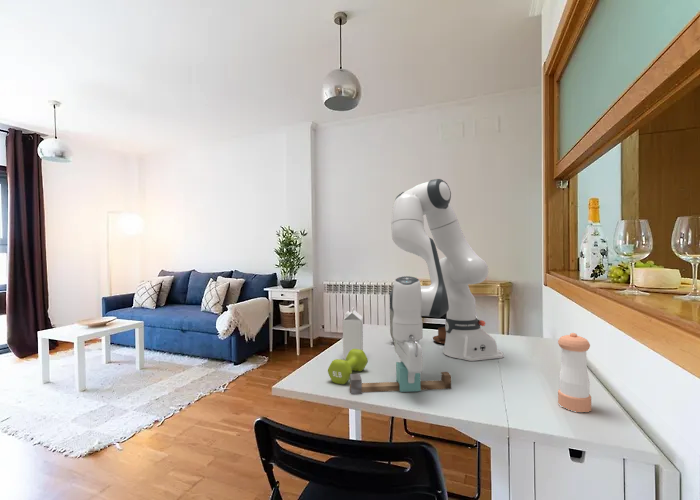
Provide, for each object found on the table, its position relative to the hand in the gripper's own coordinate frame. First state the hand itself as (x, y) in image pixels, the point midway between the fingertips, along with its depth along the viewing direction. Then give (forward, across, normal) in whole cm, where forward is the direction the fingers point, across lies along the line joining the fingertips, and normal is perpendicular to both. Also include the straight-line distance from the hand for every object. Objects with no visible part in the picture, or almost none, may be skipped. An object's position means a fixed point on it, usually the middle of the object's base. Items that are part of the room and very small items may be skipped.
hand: (407, 377), depth 104 cm
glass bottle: (+4, +50, -9) cm, 51 cm away
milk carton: (+4, +32, +14) cm, 35 cm away
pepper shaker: (+3, -16, -40) cm, 43 cm away
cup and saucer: (+4, +50, -30) cm, 58 cm away
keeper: (+3, 0, 0) cm, 3 cm away
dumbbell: (+4, +12, +17) cm, 21 cm away
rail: (+3, 0, +2) cm, 4 cm away
